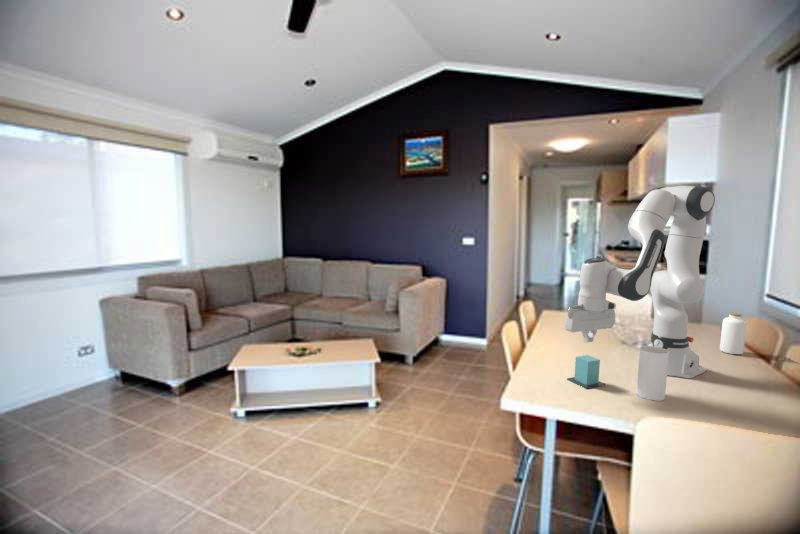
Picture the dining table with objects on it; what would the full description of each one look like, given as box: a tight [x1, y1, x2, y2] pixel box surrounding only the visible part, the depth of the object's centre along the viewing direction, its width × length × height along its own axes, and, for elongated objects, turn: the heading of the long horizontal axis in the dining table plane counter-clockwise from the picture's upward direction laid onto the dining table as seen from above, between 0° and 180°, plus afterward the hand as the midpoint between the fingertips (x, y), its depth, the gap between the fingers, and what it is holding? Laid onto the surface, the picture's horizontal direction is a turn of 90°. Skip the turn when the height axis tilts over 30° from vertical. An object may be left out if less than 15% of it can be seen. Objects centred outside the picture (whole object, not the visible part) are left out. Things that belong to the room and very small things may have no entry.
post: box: [566, 376, 606, 390], centre depth 148 cm, size 9×9×7 cm
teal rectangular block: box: [574, 354, 601, 385], centre depth 147 cm, size 6×6×9 cm
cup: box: [636, 345, 669, 402], centre depth 137 cm, size 8×8×16 cm
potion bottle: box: [719, 312, 748, 355], centre depth 182 cm, size 8×8×18 cm
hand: (588, 341), depth 146 cm, fingers closed
